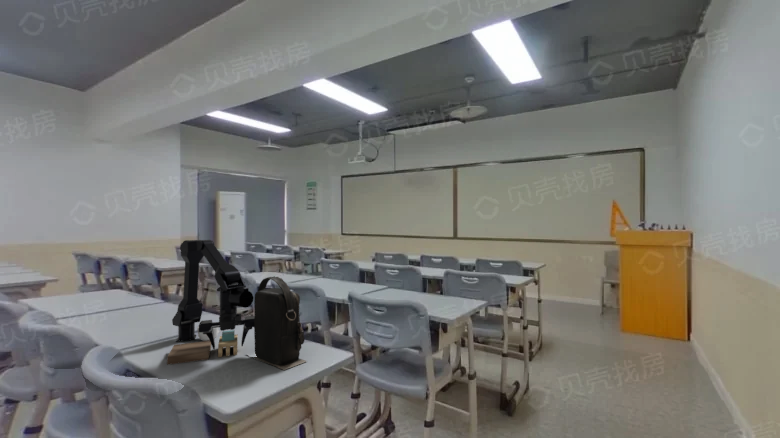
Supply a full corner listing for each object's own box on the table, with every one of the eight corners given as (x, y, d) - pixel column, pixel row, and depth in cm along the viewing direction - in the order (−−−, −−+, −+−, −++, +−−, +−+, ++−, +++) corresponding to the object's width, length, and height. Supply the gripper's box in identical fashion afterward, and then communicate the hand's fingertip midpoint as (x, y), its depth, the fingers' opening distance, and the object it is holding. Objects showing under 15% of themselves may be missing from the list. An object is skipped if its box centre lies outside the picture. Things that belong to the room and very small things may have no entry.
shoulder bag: (244, 355, 125) (244, 275, 126) (267, 348, 133) (267, 272, 133) (284, 370, 112) (284, 280, 112) (307, 362, 119) (307, 277, 120)
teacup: (203, 343, 138) (204, 329, 138) (193, 340, 142) (193, 326, 142) (228, 336, 146) (228, 323, 147) (217, 333, 151) (217, 321, 151)
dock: (174, 351, 129) (174, 344, 129) (211, 347, 134) (211, 340, 134) (167, 364, 117) (167, 356, 117) (208, 359, 122) (208, 351, 122)
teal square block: (222, 338, 131) (222, 331, 131) (234, 336, 132) (234, 330, 132) (222, 341, 127) (222, 334, 127) (234, 340, 128) (234, 333, 129)
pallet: (219, 348, 133) (220, 336, 133) (237, 346, 135) (237, 334, 135) (218, 357, 124) (218, 344, 124) (237, 355, 126) (237, 342, 126)
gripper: (196, 311, 119) (196, 359, 119) (256, 306, 126) (256, 351, 126) (200, 304, 129) (200, 348, 129) (255, 300, 136) (255, 341, 136)
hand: (228, 347), depth 130 cm, fingers open, 9 cm apart
